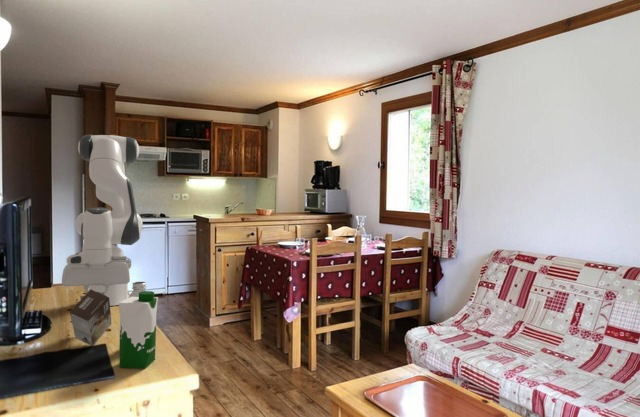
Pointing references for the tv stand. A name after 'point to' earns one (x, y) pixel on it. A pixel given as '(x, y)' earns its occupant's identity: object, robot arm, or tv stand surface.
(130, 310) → the milk carton
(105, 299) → the coffee box
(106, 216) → the robot arm
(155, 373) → the tv stand surface
